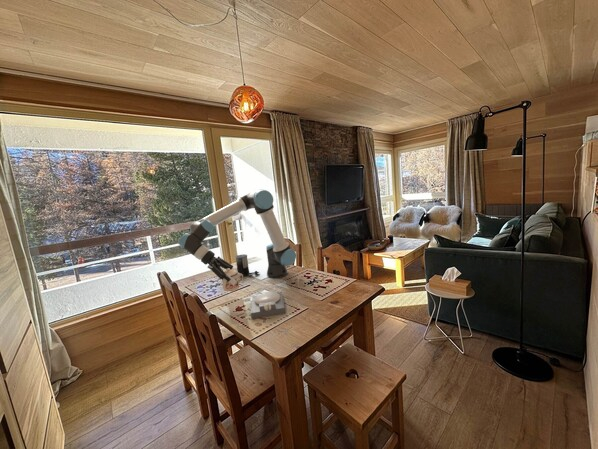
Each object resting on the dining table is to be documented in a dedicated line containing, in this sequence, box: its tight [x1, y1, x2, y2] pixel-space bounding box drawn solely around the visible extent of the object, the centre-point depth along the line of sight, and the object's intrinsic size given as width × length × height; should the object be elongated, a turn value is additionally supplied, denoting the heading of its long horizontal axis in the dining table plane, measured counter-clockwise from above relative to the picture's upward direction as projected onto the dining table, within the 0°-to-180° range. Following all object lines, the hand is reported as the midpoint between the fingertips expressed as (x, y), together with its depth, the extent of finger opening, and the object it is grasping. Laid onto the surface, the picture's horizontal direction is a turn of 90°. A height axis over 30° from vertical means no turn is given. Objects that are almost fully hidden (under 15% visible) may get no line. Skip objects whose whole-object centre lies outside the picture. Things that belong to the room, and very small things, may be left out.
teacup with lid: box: [221, 268, 244, 292], centre depth 141 cm, size 12×9×12 cm
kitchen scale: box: [250, 291, 286, 319], centre depth 137 cm, size 20×17×6 cm
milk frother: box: [234, 254, 260, 278], centre depth 191 cm, size 14×16×15 cm
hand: (237, 280), depth 140 cm, fingers closed on teacup with lid, 9 cm apart
